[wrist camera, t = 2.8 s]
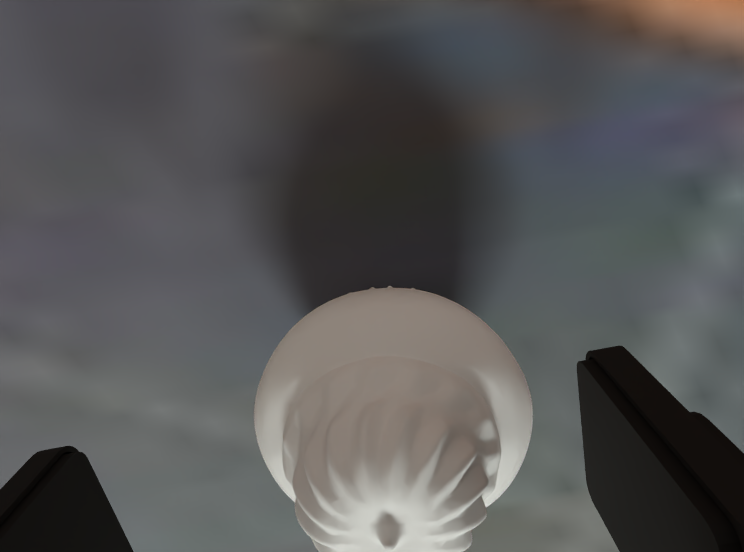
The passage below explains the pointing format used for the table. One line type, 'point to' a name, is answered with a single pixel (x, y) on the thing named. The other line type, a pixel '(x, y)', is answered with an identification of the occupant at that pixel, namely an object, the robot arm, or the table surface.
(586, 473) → the robot arm
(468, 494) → the white rounded piece
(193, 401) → the table surface
